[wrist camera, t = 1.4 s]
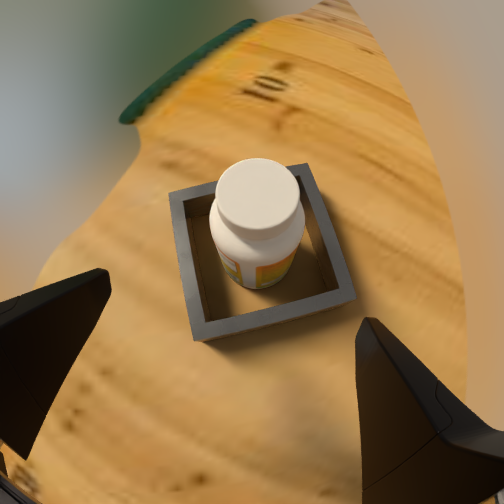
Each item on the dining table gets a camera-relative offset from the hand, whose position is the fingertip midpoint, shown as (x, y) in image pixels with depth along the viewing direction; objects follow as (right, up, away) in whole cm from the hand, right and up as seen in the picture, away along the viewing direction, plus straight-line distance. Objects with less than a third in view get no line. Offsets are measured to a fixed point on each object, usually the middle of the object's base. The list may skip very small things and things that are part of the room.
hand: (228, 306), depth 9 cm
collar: (+1, +1, +13) cm, 13 cm away
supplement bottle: (+1, +1, +13) cm, 13 cm away
